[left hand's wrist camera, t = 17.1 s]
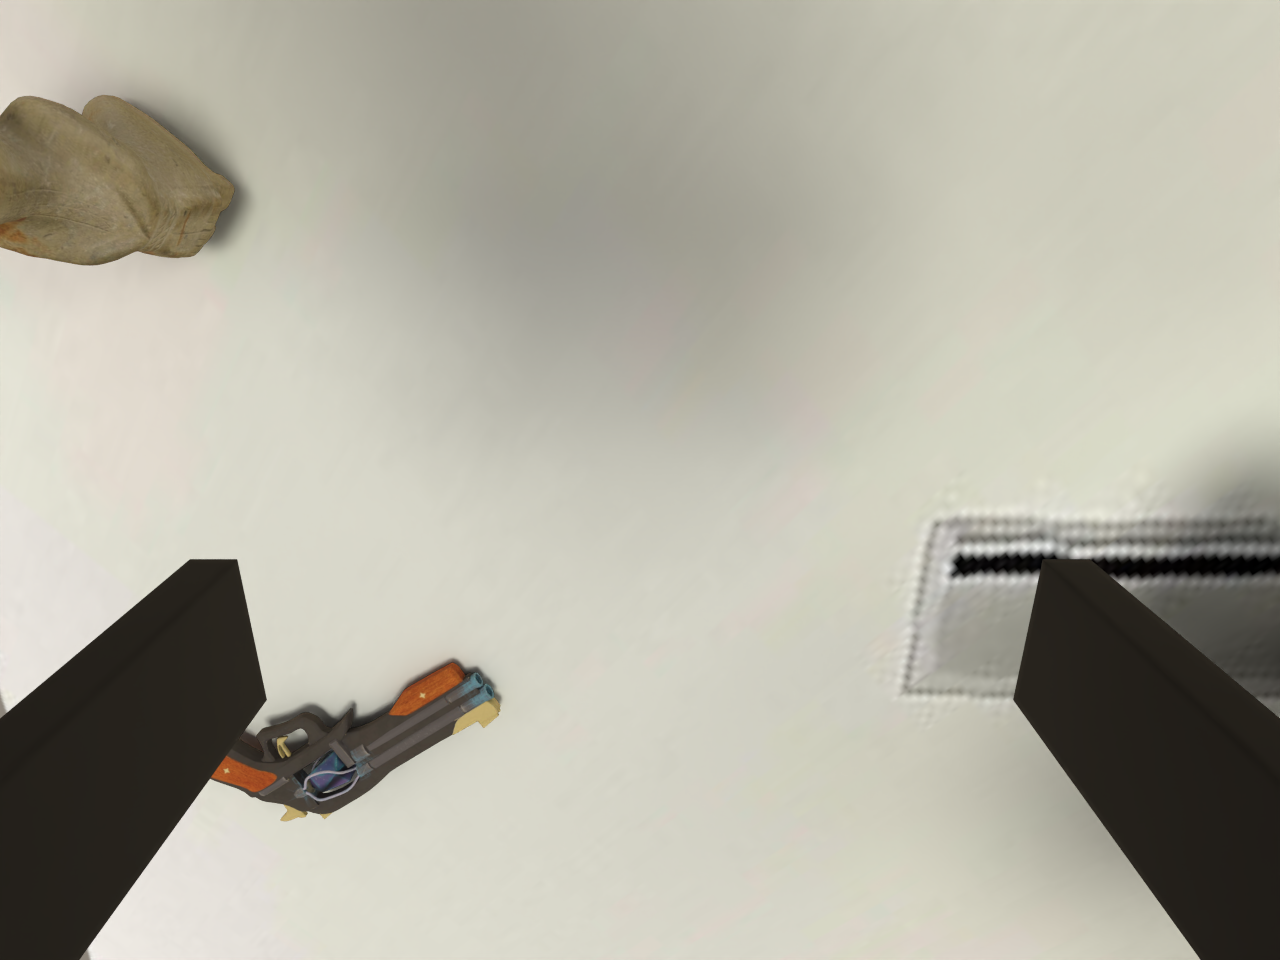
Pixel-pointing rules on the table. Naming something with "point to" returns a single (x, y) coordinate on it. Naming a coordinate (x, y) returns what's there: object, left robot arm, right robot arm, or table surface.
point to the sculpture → (101, 184)
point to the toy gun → (356, 745)
